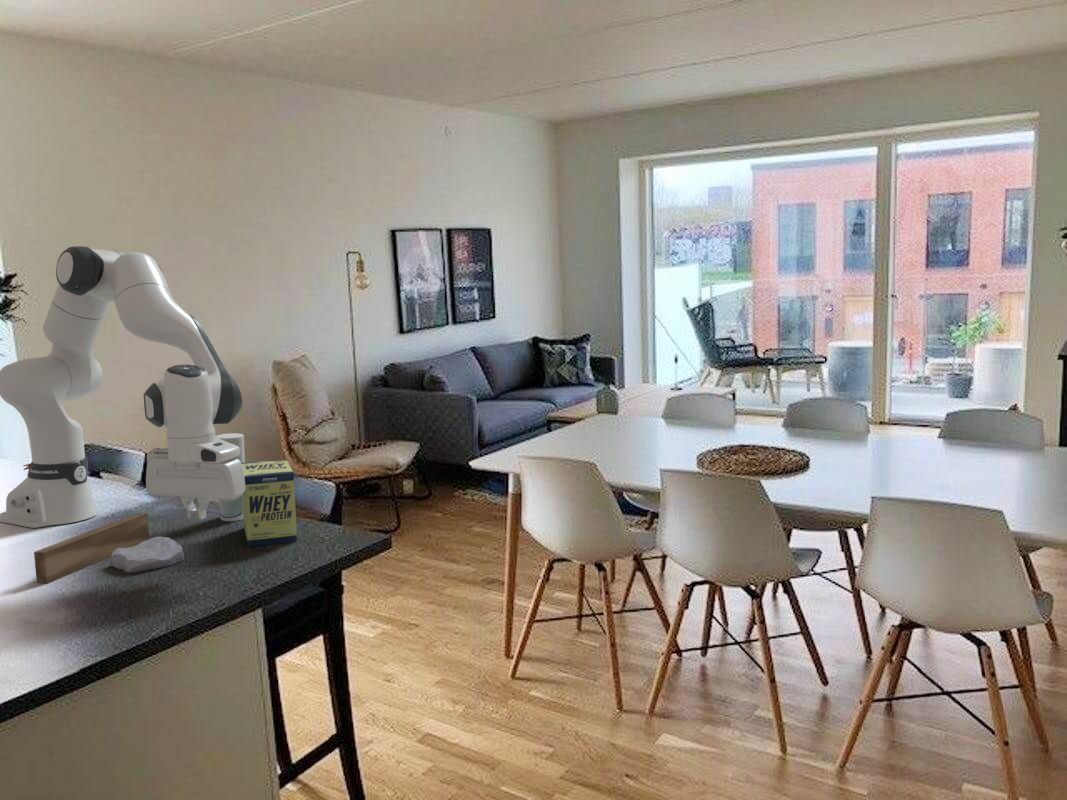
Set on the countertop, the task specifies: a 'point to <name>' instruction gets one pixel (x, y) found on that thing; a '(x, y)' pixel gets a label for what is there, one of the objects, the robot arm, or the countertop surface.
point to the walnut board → (89, 547)
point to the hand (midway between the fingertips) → (197, 518)
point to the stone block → (148, 555)
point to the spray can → (234, 507)
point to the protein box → (269, 503)
